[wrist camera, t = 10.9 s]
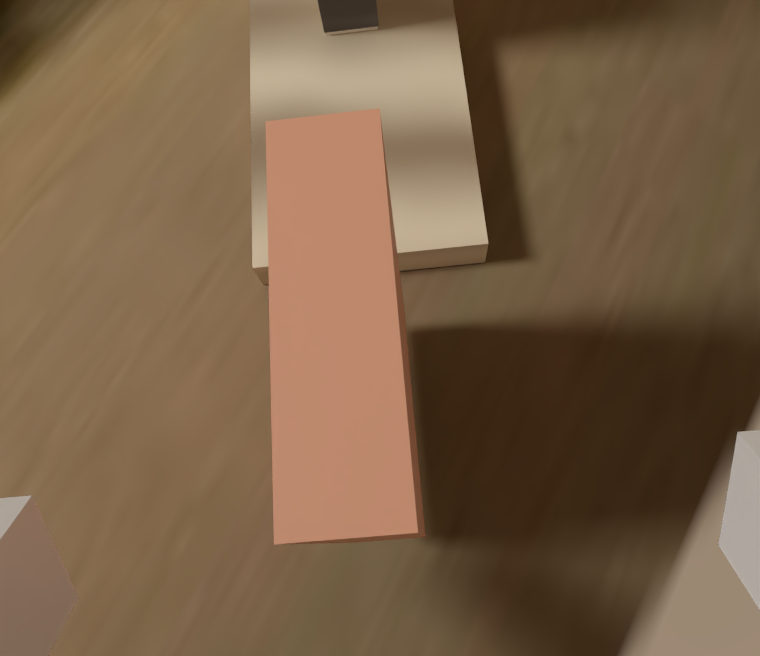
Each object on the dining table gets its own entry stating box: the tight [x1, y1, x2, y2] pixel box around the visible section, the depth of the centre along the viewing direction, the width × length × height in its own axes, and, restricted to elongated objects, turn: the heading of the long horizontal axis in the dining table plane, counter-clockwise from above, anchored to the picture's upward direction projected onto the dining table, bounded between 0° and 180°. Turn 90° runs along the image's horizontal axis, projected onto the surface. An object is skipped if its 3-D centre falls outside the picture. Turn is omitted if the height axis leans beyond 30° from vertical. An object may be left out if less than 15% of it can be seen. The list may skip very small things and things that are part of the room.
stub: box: [265, 108, 426, 544], centre depth 15 cm, size 7×2×10 cm, turn 4°
